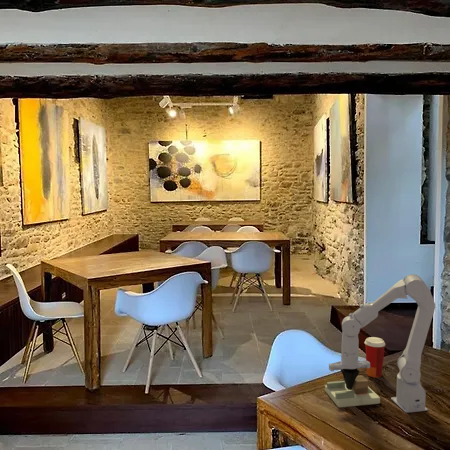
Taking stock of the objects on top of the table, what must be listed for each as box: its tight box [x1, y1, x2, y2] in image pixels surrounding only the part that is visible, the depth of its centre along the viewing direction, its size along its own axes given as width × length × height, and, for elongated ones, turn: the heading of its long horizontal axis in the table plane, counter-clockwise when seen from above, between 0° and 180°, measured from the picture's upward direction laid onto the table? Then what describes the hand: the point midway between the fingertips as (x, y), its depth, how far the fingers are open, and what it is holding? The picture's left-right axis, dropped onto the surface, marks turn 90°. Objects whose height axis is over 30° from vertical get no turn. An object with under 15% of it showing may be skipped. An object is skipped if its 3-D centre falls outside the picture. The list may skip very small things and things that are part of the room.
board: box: [324, 380, 381, 408], centre depth 154 cm, size 12×15×4 cm
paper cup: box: [363, 336, 386, 379], centre depth 171 cm, size 8×8×14 cm
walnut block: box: [352, 375, 369, 394], centre depth 154 cm, size 4×4×4 cm
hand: (349, 388), depth 154 cm, fingers closed
